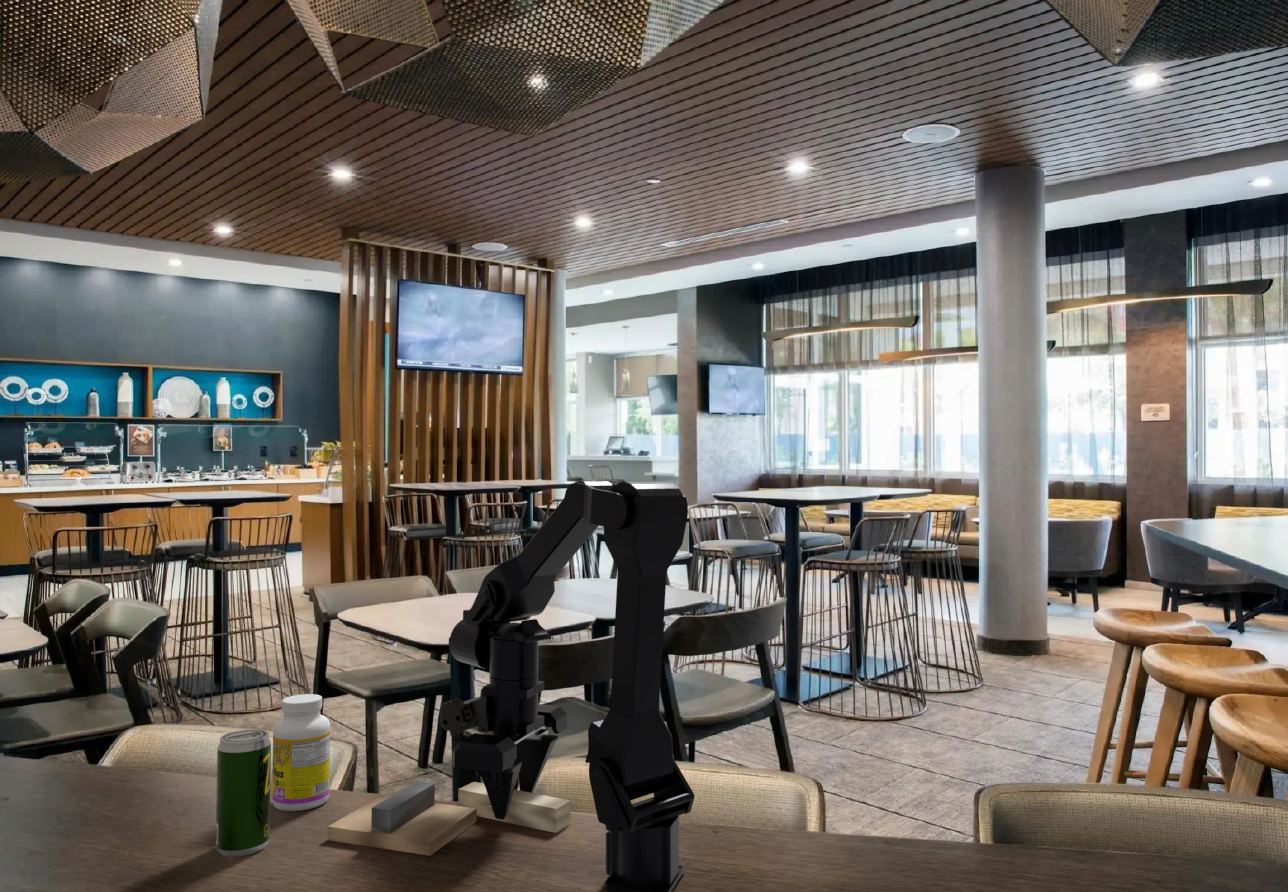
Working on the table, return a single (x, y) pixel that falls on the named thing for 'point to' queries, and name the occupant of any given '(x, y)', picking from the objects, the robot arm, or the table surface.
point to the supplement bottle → (301, 755)
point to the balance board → (407, 834)
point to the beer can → (243, 792)
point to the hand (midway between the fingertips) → (513, 808)
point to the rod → (520, 808)
